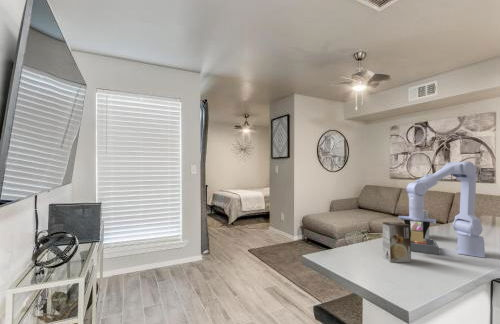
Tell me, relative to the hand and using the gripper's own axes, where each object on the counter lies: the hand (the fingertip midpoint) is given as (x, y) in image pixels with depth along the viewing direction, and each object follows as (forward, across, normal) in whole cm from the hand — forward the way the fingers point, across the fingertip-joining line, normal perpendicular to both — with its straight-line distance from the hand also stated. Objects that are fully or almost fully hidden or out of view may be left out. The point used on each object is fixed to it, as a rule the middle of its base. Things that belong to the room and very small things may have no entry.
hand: (416, 237), depth 116 cm
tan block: (+1, 0, 0) cm, 1 cm away
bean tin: (+8, +2, +12) cm, 15 cm away
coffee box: (+9, -8, -12) cm, 17 cm away
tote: (+8, +2, +12) cm, 15 cm away
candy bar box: (+9, +3, +38) cm, 39 cm away
